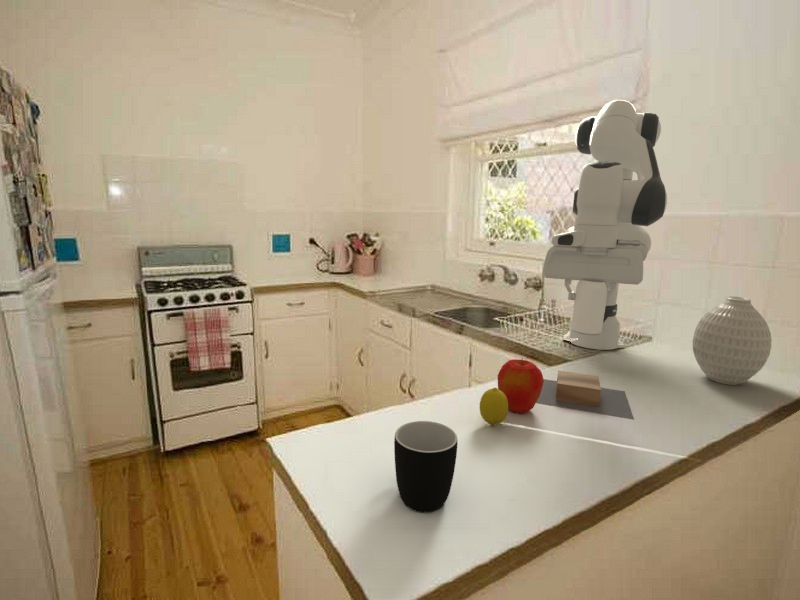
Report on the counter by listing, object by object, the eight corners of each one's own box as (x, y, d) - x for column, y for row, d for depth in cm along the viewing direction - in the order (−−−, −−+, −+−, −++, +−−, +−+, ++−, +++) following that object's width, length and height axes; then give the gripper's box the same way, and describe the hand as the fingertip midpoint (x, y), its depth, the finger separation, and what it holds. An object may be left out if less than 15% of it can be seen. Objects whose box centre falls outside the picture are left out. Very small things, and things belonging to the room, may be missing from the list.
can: (606, 336, 95) (614, 282, 93) (576, 334, 95) (584, 280, 93) (594, 328, 101) (601, 277, 99) (566, 326, 101) (573, 276, 99)
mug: (466, 508, 62) (470, 443, 60) (410, 527, 58) (413, 458, 56) (423, 465, 72) (426, 408, 70) (374, 478, 68) (375, 418, 66)
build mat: (530, 378, 112) (530, 377, 112) (624, 392, 105) (624, 391, 105) (524, 402, 98) (524, 400, 98) (633, 421, 90) (634, 419, 90)
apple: (487, 409, 94) (491, 356, 91) (510, 398, 100) (515, 348, 98) (525, 425, 87) (530, 368, 85) (548, 412, 93) (553, 359, 91)
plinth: (556, 385, 107) (558, 370, 106) (596, 392, 104) (598, 376, 103) (555, 399, 99) (557, 383, 98) (598, 407, 96) (601, 390, 95)
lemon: (475, 428, 85) (478, 390, 84) (481, 417, 90) (483, 380, 89) (504, 434, 83) (507, 395, 82) (508, 422, 88) (511, 385, 87)
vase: (745, 397, 104) (762, 306, 100) (675, 375, 118) (688, 294, 114) (774, 385, 113) (791, 301, 108) (705, 366, 126) (718, 290, 122)
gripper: (646, 240, 94) (637, 302, 96) (546, 235, 101) (541, 294, 103) (651, 241, 88) (642, 308, 90) (545, 237, 95) (539, 299, 97)
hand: (587, 301), depth 97 cm, fingers closed on can, 5 cm apart
